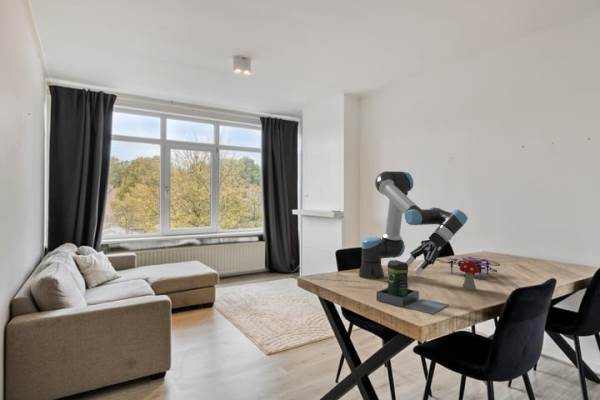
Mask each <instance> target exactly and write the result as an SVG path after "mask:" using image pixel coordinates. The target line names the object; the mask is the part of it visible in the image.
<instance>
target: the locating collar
mask: <svg viewBox="0 0 600 400" xmlns="http://www.w3.org/2000/svg"><path fill="white" fill-rule="evenodd" d="M419 300H420V290H416V289H415V290H414V289H412V288H408V294H407V295H405V296H403V297H399V296H395V295H391V294H388V287H386V288H383V289H380V290H378V291H376V301H377V302H382V303H385V304H389V305H393V306H398V307H401V308H404V307H406V306H408V305H410V304H412V303H414V302H416V301H419Z"/></svg>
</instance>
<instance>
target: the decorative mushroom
mask: <svg viewBox="0 0 600 400" xmlns="http://www.w3.org/2000/svg"><path fill="white" fill-rule="evenodd" d="M459 271H460V272H463V273H465V275H464V281H463V283H462V288H463V289H464V290H467V291H475V290H476V289H477V286H476V284H475V277H474V276H473V273H475V274H479V268H478V267H477V265H476V263H474V262H473V261H470V260H466V261H464V262H463V263H462V264H461V266H460V267H459Z"/></svg>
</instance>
